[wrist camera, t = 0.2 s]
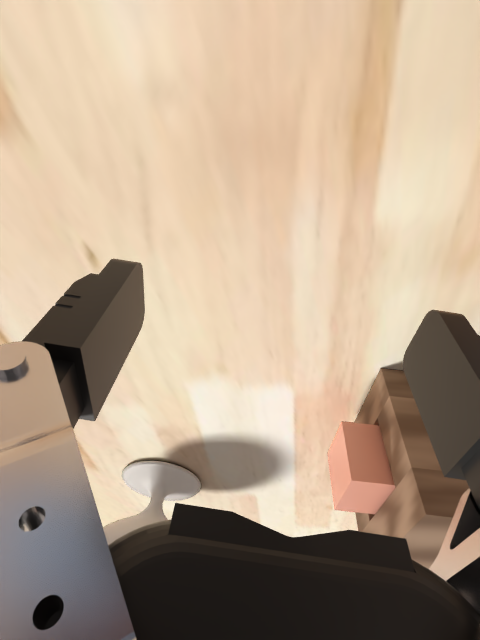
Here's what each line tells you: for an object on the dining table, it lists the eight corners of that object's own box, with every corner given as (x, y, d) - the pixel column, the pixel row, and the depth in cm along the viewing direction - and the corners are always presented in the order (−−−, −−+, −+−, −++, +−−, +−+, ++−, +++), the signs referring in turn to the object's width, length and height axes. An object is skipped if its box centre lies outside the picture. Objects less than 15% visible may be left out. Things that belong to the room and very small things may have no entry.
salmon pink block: (341, 421, 36) (351, 480, 31) (462, 434, 35) (490, 496, 31) (327, 452, 39) (334, 509, 35) (436, 465, 39) (457, 523, 35)
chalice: (174, 447, 49) (143, 578, 37) (223, 492, 56) (210, 613, 45) (97, 464, 53) (48, 585, 42) (152, 504, 61) (123, 616, 49)
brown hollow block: (380, 368, 36) (425, 514, 25) (499, 381, 36) (596, 533, 25) (344, 443, 45) (365, 575, 34) (439, 454, 45) (490, 589, 34)
